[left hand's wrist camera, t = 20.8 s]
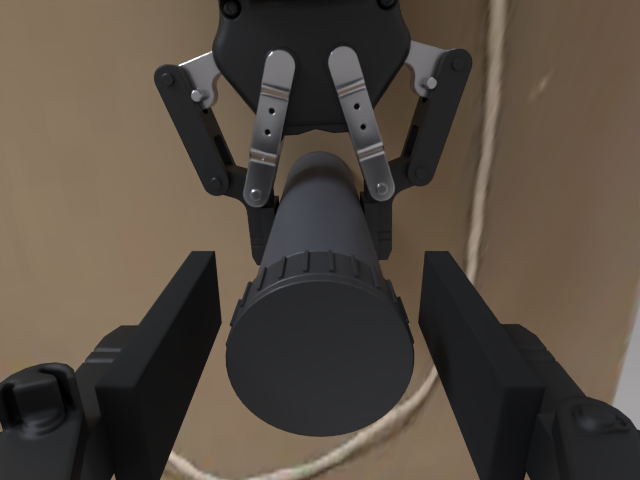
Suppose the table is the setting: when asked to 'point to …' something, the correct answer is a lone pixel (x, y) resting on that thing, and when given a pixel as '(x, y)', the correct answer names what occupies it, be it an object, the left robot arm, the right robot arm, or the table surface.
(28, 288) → the table surface
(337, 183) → the dark grey long cylinder
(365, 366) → the lid
